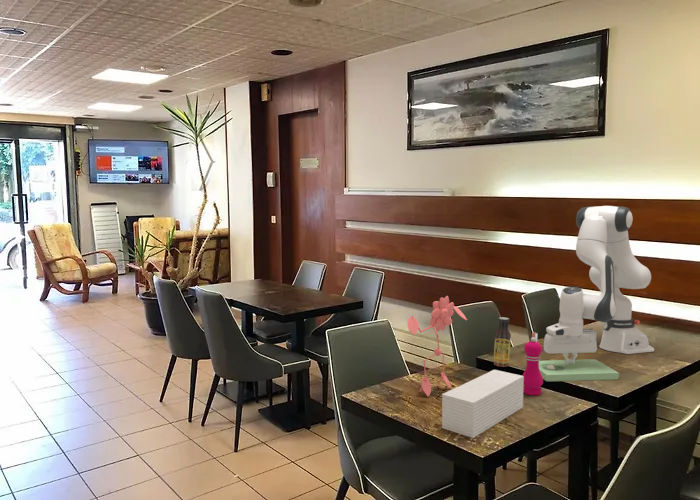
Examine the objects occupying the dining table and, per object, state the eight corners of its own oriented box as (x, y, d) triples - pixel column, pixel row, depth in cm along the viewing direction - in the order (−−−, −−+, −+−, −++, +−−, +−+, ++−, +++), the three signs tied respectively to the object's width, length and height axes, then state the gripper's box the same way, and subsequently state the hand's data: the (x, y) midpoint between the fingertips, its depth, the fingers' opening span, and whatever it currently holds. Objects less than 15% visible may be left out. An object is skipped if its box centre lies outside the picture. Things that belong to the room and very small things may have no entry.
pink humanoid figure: (400, 396, 196) (402, 297, 192) (450, 381, 212) (453, 289, 208) (432, 410, 184) (435, 305, 180) (483, 393, 200) (486, 296, 196)
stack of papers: (493, 400, 193) (494, 369, 192) (523, 407, 186) (523, 376, 185) (441, 428, 170) (442, 394, 169) (473, 438, 163) (473, 402, 162)
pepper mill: (544, 396, 195) (545, 340, 193) (522, 395, 197) (523, 339, 195) (541, 389, 202) (542, 335, 200) (520, 388, 204) (521, 334, 202)
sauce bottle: (492, 366, 229) (493, 319, 227) (494, 362, 235) (495, 315, 233) (509, 368, 227) (510, 320, 225) (510, 364, 233) (511, 317, 231)
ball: (546, 363, 222) (543, 371, 222) (549, 362, 219) (545, 371, 218) (555, 367, 222) (551, 375, 221) (557, 367, 218) (554, 375, 218)
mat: (593, 363, 232) (594, 329, 231) (618, 379, 213) (620, 341, 211) (526, 365, 230) (527, 331, 229) (546, 381, 211) (547, 343, 210)
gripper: (592, 326, 223) (591, 360, 224) (542, 327, 221) (541, 362, 223) (600, 330, 217) (599, 365, 218) (549, 331, 215) (548, 366, 216)
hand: (569, 363), depth 220 cm, fingers closed
